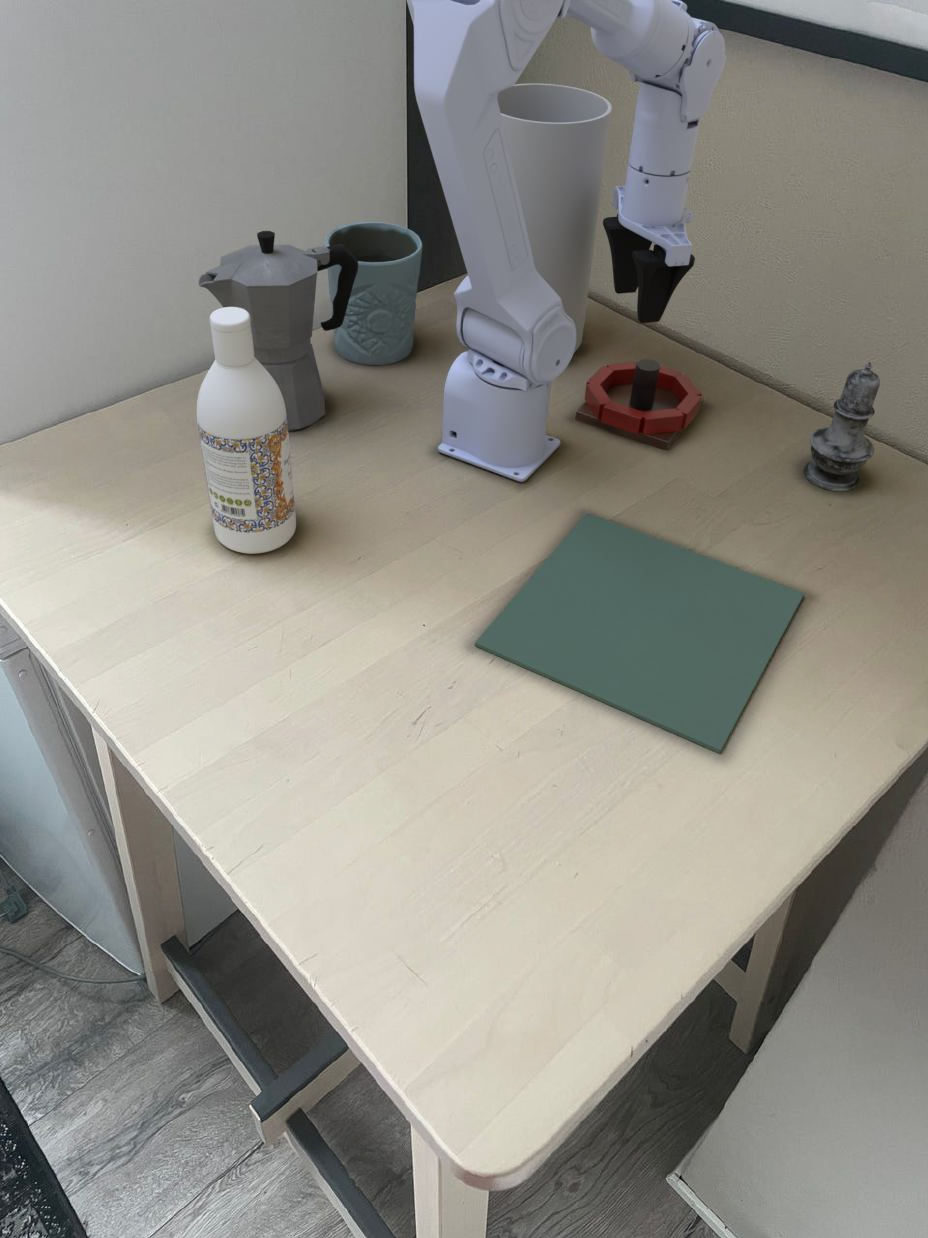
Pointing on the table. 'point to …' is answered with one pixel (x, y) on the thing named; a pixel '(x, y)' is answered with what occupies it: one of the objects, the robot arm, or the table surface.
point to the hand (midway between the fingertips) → (636, 305)
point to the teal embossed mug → (377, 291)
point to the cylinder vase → (559, 181)
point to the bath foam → (244, 442)
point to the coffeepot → (284, 312)
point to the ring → (634, 418)
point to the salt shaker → (845, 435)
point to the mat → (646, 628)
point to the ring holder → (638, 403)
